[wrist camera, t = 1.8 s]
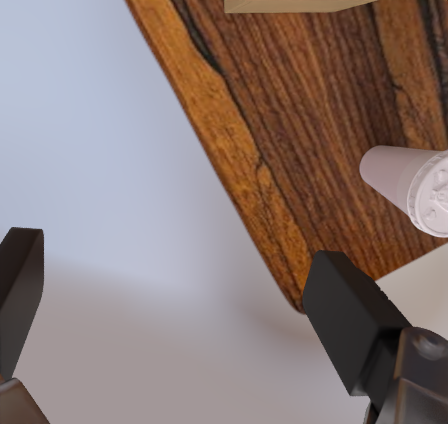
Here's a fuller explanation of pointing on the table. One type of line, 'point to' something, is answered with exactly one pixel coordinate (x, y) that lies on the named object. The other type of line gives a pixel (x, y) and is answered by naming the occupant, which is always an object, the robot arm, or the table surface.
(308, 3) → the carton
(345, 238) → the table surface
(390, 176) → the smoothie
